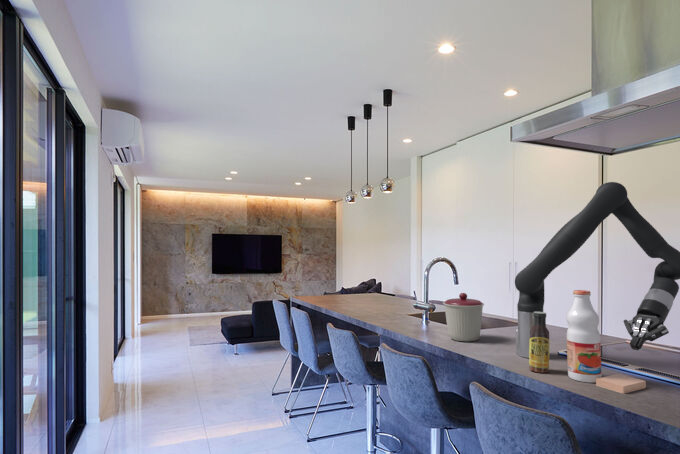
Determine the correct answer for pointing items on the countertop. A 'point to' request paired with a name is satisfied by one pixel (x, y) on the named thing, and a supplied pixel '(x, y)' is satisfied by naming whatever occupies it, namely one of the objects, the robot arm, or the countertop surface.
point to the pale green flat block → (621, 383)
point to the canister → (463, 318)
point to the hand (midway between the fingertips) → (634, 348)
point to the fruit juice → (583, 339)
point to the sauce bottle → (539, 344)
